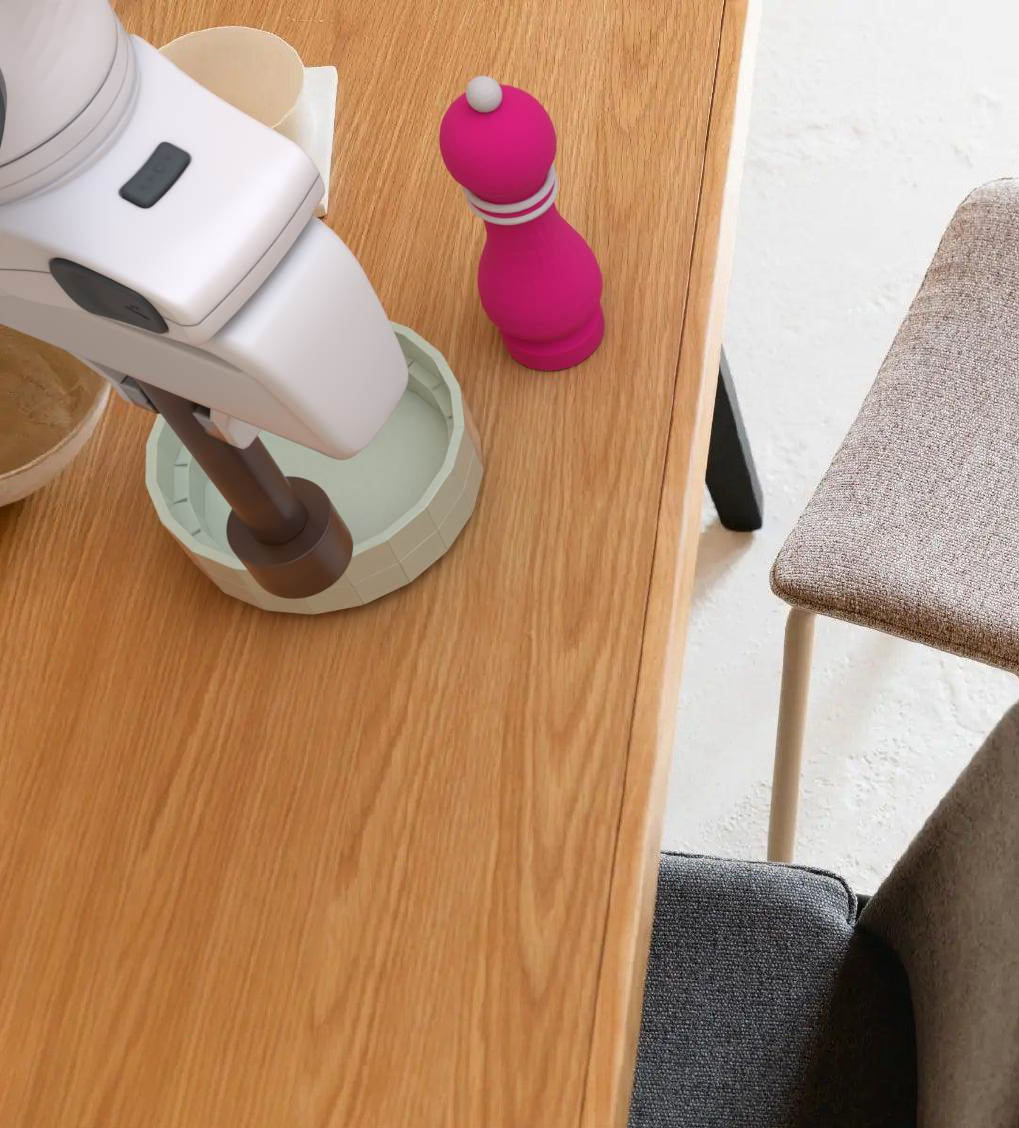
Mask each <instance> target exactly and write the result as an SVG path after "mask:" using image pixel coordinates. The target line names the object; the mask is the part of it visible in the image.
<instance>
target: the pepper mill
mask: <svg viewBox="0 0 1019 1128" xmlns="http://www.w3.org/2000/svg"><path fill="white" fill-rule="evenodd" d="M438 136H439V137H438V140H439V141H438V142H439V149H440V150H439V151H440V154H441V157H442V161H443V163H444V165H445V168H446V169H447V171H448V173H449V174H450V175H451V177H452V178H453V179H454V180H455V181H456V183H458V185H461V187H462V191H463V193H464V195H465V200H466V203H467V205H468V207H469V209H470V210H471V211H472V212H473V213H474V214H475V215H476V216H477V217H478V218H480V219H481V220H482V221H483V224H484V227H485V228H484V229H485V232H486V239H485V242H484V246H483V249H482V251H481V255H480V258H479V263H478V269H477V289H478V295H479V299H480V303H481V306H482V309H483V311H484V312H485V314H486V316H487V317H488V319H489V321H491V322H492V323H493V324H494V326H496V327H497V328H498V329H499V332H500V333H499V334H500V336H501V338H502V341H503V344H504V346H505V349H506V350H507V352H508V353H509V355H510V356H511V357H512V358H513V359H514V360H515V361H517V362H518V363H519V364H521V365H523V366H525V367H527V368H530V369H533V370H538V371H548V372H549V371H551V372H554V371H555V372H556V371H559V370H564V369H569V368H571V367H574V366H576V365H578V364H580V363H582V362H584V361H585V360H587V358H589V357H590V356H591V355H593V353H595V351H596V350H597V348H598V347H599V346H600V344H601V342H602V340H603V337H604V333H605V327H606V326H605V325H606V324H605V323H606V321H605V317H604V313H603V308H602V305H601V299H602V293H603V288H604V281H603V274H602V271H601V268H600V265H599V263H598V260H597V257H596V255H595V253H594V251H593V249H592V248H591V247H590V246H589V244H588V242H587V241H586V240H585V239H584V237H583V236H582V235H581V234H580V233H579V232H578V230H576V229H575V228H574V226H573V227H572V225H571V224H570V223H568V221H567V220H565V218H564V217H562V215H561V214H560V213H559V211H558V209H557V206H556V203H555V200H556V198H557V196H558V193H559V178H558V175H557V173H556V167H555V164H554V161H555V159H556V155H557V143H558V141H557V135H556V130H555V127H554V123H553V121H552V119H551V116H550V115H549V113H548V111H547V110H546V108H545V107H544V106H543V104H542V103H540V101H538V99H537V98H536V97H534V96H533V95H532V94H531V93H529V92H527V91H525V90H523V89H521V88H518V87H515V86H512V85H508V84H502V83H501V84H500V83H499V82H498V81H496V80H495V79H494V78H492V77H490V76H487V75H477V76H475V77H473V78H472V79H471V80H470V81H469V82H468V84H467V85H466V89H465V92H463V93H462V94H461V95H459V96H457V98H456V99H455V100H453V101H452V102H451V104H450V105H449V107H448V108H447V109H446V111H445V113H444V115H443V117H442V119H441V123H440V127H439V135H438Z"/></svg>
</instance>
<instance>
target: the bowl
mask: <svg viewBox="0 0 1019 1128" xmlns="http://www.w3.org/2000/svg"><path fill="white" fill-rule="evenodd" d="M389 322H390V324H391V326H392V328H393V331H394V333H395V335H396V337H397V340H398V342H399V345H400V347H401V349H402V352H403V354H404V357H405V360H406V364H407V367H408V383H407V386H406V389H405V391H404V394H403V396H402V398H401V399H400V401H399V403H398V405H397V406H396V408H395V409H394V411H393V412H392V414H391V415H390V417H389V419H388V420H387V421H386V423H385V424H384V425H383V427H382V428H381V429H380V431H379V432H378V433H377V435H376V436H375V437H374V438H373V439H372V441H371V442H370V443H369V444H368V445H367V446H366V447H365V448H364V449H363V450H361V451H360V452H359V453H358V454H356V455H355V456H354V457H352V458H350V459H347V460H337V459H333V458H330V457H328V456H326V455H323V454H321V453H319V452H317V451H314V450H312V449H309V448H307V447H305V446H302V445H300V444H297V443H295V442H292V441H290V440H287V439H285V438H282V437H280V436H277V435H275V434H272V433H270V432H267V431H265V430H261V431H260V433H259V434H258V437H259V438H260V440H261V441H262V443H263V444H264V446H265V447H266V449H267V450H268V452H269V453H270V455H271V456H272V458H273V459H274V461H275V462H276V464H277V465H278V467H279V468H280V470H281V471H282V473H283V474H284V476H294V477H300V478H304V479H307V480H310V481H312V482H314V483H315V484H317V485H318V486H320V487H321V488H322V489H323V490H324V492H325V493H326V494H327V496H328V497H329V499H330V500H331V502H332V504H333V505H334V507H335V508H336V510H337V511H338V513H339V515H340V516H341V518H342V519H343V521H344V522H345V524H346V526H347V527H348V529H349V531H350V533H351V536H352V540H353V553H352V558H351V561H350V563H349V566H348V568H347V569H346V571H345V572H344V574H343V575H342V576H341V578H340V579H339V580H338V581H337V582H336V583H334V584H333V585H332V586H331V587H329V588H328V589H326V590H324V591H322V592H321V593H318V594H316V595H313V596H310V597H306V598H300V599H287V598H282V597H278V596H275V595H272V594H271V593H269V592H267V591H266V590H264V589H263V588H262V587H261V586H260V585H259V584H258V582H257V581H256V580H255V579H254V577H253V576H252V575H251V574H250V572H249V571H248V570H247V569H246V567H245V566H244V565H243V564H242V562H241V561H240V560H239V559H238V557H237V556H236V555H235V553H234V552H233V551H232V549H231V548H230V546H229V544H228V540H227V535H226V525H227V520H228V517H229V514H230V512H231V510H232V508H231V506H230V505H229V504H228V502H227V501H226V500H225V498H224V497H223V496H222V494H221V493H220V492H219V490H218V489H217V488H216V486H215V485H214V484H213V482H212V481H211V480H210V478H209V477H208V476H207V475H206V473H205V472H204V471H203V469H202V468H201V467H200V465H199V464H198V463H197V461H196V460H195V459H194V457H193V456H192V455H191V453H190V452H189V451H188V449H187V448H186V447H185V445H184V444H183V443H182V441H181V440H180V439H179V437H178V436H177V435H176V433H175V432H174V431H173V429H172V428H171V427H170V425H169V424H168V423H167V421H166V420H165V419H164V418H163V416H162V415H161V414H157V416H156V418H155V421H154V423H153V425H152V428H151V431H150V433H149V435H148V438H147V441H146V443H145V477H144V478H145V481H144V482H145V483H144V484H145V488H146V490H147V491H148V495H149V497H150V499H151V502H152V504H153V507H154V509H155V511H156V514H157V515H158V519H159V521H160V523H161V524H162V525H163V527H164V528H165V529H166V530H167V532H168V533H169V534H170V535H171V537H172V538H173V539H174V541H175V542H176V543H177V544H178V545H179V547H180V548H181V549H182V550H183V552H184V553H185V554H186V555H187V557H188V558H189V559H190V560H191V561H192V563H193V564H194V565H195V566H196V567H197V568H198V569H199V570H200V571H201V572H202V573H203V574H204V575H205V576H206V577H207V578H208V579H209V580H210V581H211V582H212V583H213V584H215V586H217V588H218V589H220V590H221V591H222V592H223V593H224V594H226V595H228V596H231V597H232V598H235V599H238V600H240V601H242V602H245V603H247V604H250V605H252V606H254V607H257V608H259V609H261V610H263V611H266V612H267V611H268V612H278V613H290V614H291V613H292V614H303V615H312V616H313V615H319V614H323V613H329V612H336V611H340V610H344V609H350V608H356V607H361V606H364V605H367V604H369V603H371V602H373V601H375V600H377V599H380V598H382V597H383V596H386V595H388V594H390V593H392V592H394V591H396V590H398V589H401V588H403V587H404V586H407V585H408V584H410V583H413V581H415V579H417V578H418V577H419V576H420V575H421V574H423V573H424V572H425V571H426V570H427V569H429V567H431V566H433V564H434V563H436V561H438V560H439V559H440V558H442V557H443V556H444V555H445V554H446V553H447V552H448V551H449V550H450V548H451V547H452V545H453V544H454V543H455V541H456V540H457V538H458V536H459V535H460V533H461V531H462V530H463V529H464V527H465V525H466V524H467V523H468V521H469V519H470V518H471V516H472V515H473V512H474V511H475V507H476V503H477V498H478V494H479V491H480V488H481V483H482V479H483V477H484V471H485V470H484V462H483V453H482V443H481V435H480V432H479V429H478V427H477V424H476V422H475V420H474V417H473V415H472V413H471V410H470V407H469V404H468V402H467V400H466V398H465V394H464V393H463V389H462V388H461V385H460V383H459V382H458V380H457V378H456V376H455V374H454V373H453V371H452V369H451V367H450V366H449V363H448V362H447V360H446V358H445V357H444V355H443V354H442V352H441V351H440V350H438V349H437V348H436V347H434V346H433V345H432V344H431V343H429V341H428V340H426V339H425V338H423V337H422V336H421V335H420V334H419V333H417V332H416V331H415V330H413V329H412V328H410V327H408V326H406V325H403V324H402V323H401V324H400V323H398V322H395V321H392V320H390V319H389Z"/></svg>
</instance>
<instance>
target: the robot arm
mask: <svg viewBox="0 0 1019 1128" xmlns="http://www.w3.org/2000/svg"><path fill="white" fill-rule="evenodd" d="M325 193H326V187H325V183H324V180H323V176H322V174H321V173H320V170H319V169H318V167H317V165H316V163H315V162H314V159H312V157H311V156H310V155H309V154H308V152H307V151H306V150H305V149H303V148H302V146H300V145H299V144H297V143H296V142H294V141H293V140H291V139H290V138H288V137H286V136H285V135H284V134H282V133H279V132H278V131H276V130H274V129H273V128H271V127H269V126H267V125H265V124H264V123H262V122H260V121H258V120H257V119H255V118H253V117H252V116H250V115H249V114H247V113H246V112H243V111H242V110H241V109H238V108H236V107H235V106H234V105H232V104H230V103H229V102H227V101H225V100H224V99H222V98H221V97H219V96H218V95H216V94H215V93H213V92H212V91H211V90H209V89H208V88H206V87H205V86H203V85H202V84H200V83H199V82H197V81H196V80H195V79H193V78H192V77H191V76H190V75H188V74H187V73H186V72H184V71H183V70H181V69H180V67H178V66H177V65H176V64H174V62H172V61H171V60H170V59H169V58H168V57H166V55H164V54H163V53H162V52H161V51H160V50H159V49H157V48H156V47H155V46H154V45H152V43H150V42H148V41H147V40H145V39H144V38H142V37H141V36H139V35H137V34H136V33H135V34H134V33H129V34H128V32H127V30H126V29H125V27H124V25H123V23H122V21H121V20H120V18H119V16H118V15H117V13H116V11H115V10H114V7H113V6H112V4H111V3H110V1H109V0H0V325H2V326H5V327H7V328H10V329H13V330H15V331H17V332H19V333H23V334H25V335H27V336H30V337H32V338H35V339H37V340H40V341H43V342H44V343H47V344H50V345H52V346H55V347H57V348H59V349H62V350H65V352H67V353H69V354H70V355H72V356H73V357H75V358H76V359H77V360H79V361H80V363H82V364H84V365H85V366H87V367H88V368H89V369H91V370H92V371H93V372H95V373H96V374H97V375H99V376H100V377H102V378H103V379H105V380H107V382H108V384H110V386H111V387H112V388H113V389H114V390H115V392H116V393H117V395H118V396H119V397H120V399H122V401H123V402H126V403H128V404H130V405H133V406H135V407H137V408H140V409H143V410H145V411H147V412H151V413H153V414H157V415H158V414H160V412H159V411H158V410H157V408H156V407H155V406H154V404H153V403H152V402H151V400H150V399H149V398H148V396H147V395H146V394H145V392H144V391H143V390H142V388H141V387H140V386H139V384H138V383H137V382H136V380H135V379H134V378H136V379H139V380H141V381H144V382H146V383H149V384H151V385H153V386H156V387H158V388H161V389H163V390H166V391H168V392H171V393H173V394H176V395H178V396H181V397H183V398H186V399H188V400H191V401H193V402H195V403H198V404H199V405H198V406H197V408H196V409H195V410H194V412H193V413H192V414H193V415H194V417H195V418H196V419H197V421H198V422H199V424H201V425H202V426H203V427H204V428H205V430H204V431H205V432H206V433H207V434H208V435H210V436H212V437H215V438H217V439H219V440H222V441H224V442H226V443H229V444H231V445H233V446H235V447H238V448H241V449H245V448H247V447H249V446H250V444H251V443H252V442H253V440H254V439H255V438H256V436H257V435H258V434H259V433H260V431H261V430H265V431H267V432H270V433H272V434H275V435H277V436H280V437H282V438H285V439H287V440H290V441H292V442H295V443H297V444H300V445H302V446H305V447H307V448H309V449H312V450H314V451H317V452H319V453H321V454H323V455H326V456H328V457H330V458H333V459H337V460H347V459H350V458H352V457H354V456H355V455H356V454H358V453H359V452H360V451H361V450H363V449H364V448H365V447H366V446H367V445H368V444H369V443H370V442H371V441H372V439H373V438H374V437H375V436H376V435H377V433H378V432H379V431H380V429H381V428H382V427H383V425H384V424H385V423H386V421H387V420H388V419H389V417H390V415H391V414H392V412H393V411H394V409H395V408H396V406H397V405H398V403H399V401H400V399H401V398H402V396H403V394H404V391H405V389H406V386H407V383H408V367H407V364H406V360H405V357H404V354H403V352H402V349H401V347H400V345H399V342H398V340H397V337H396V335H395V333H394V331H393V328H392V326H391V324H390V322H389V320H390V319H389V317H388V315H387V313H386V311H385V310H384V307H383V305H382V303H381V301H380V299H379V297H378V295H377V293H376V291H375V289H374V288H373V285H372V283H371V282H370V280H369V277H368V276H367V274H366V273H365V270H364V268H363V267H362V266H361V264H360V262H359V261H358V259H357V258H356V256H355V254H354V253H353V252H352V251H351V250H350V248H349V247H348V245H347V244H346V243H345V242H344V241H343V240H342V238H341V237H340V236H339V235H338V234H337V233H336V232H335V231H334V230H333V229H332V228H331V227H330V226H328V225H327V224H326V223H325V222H324V221H322V220H321V219H320V218H319V217H317V216H316V215H314V213H315V211H316V209H317V208H318V207H319V204H320V203H321V201H322V199H323V198H324V196H325ZM133 377H134V378H133Z"/></svg>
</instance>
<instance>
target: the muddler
mask: <svg viewBox="0 0 1019 1128" xmlns="http://www.w3.org/2000/svg"><path fill="white" fill-rule="evenodd" d="M133 378H134V377H133ZM134 379H135V380H136V382H137V383H138V384H139V386H140V387H141V388H142V390H143V391H144V392H145V394H146V395H147V396H148V398H149V399H150V400H151V402H152V403H153V404H154V406H155V407H156V408H157V410H158V411H159V412H160V414H161V415H162V416H163V418H164V419H165V420H166V421H167V423H168V424H169V425H170V427H171V428H172V429H173V431H174V432H175V433H176V435H177V436H178V437H179V439H180V440H181V441H182V443H183V444H184V445H185V447H186V448H187V449H188V451H189V452H190V453H191V455H192V456H193V457H194V459H195V460H196V461H197V463H198V464H199V465H200V467H201V468H202V469H203V471H204V472H205V473H206V475H207V476H208V477H209V478H210V480H211V481H212V482H213V484H214V485H215V486H216V488H217V489H218V490H219V492H220V493H221V494H222V496H223V497H224V498H225V500H226V501H227V502H228V504H229V505H230V506H231V508H232V510H231V512H230V514H229V517H228V520H227V525H226V535H227V540H228V544H229V546H230V548H231V549H232V551H233V552H234V553H235V555H236V556H237V557H238V559H239V560H240V561H241V562H242V564H243V565H244V566H245V567H246V569H247V570H248V571H249V572H250V574H251V575H252V576H253V577H254V579H255V580H256V581H257V582H258V584H259V585H260V586H261V587H262V588H263V589H264V590H266V591H267V592H269V593H271V594H272V595H275V596H278V597H282V598H287V599H300V598H306V597H310V596H313V595H316V594H318V593H321V592H322V591H324V590H326V589H328V588H329V587H331V586H332V585H333V584H334V583H336V582H337V581H338V580H339V579H340V578H341V576H342V575H343V574H344V572H345V571H346V569H347V568H348V566H349V563H350V561H351V558H352V553H353V540H352V536H351V533H350V531H349V529H348V527H347V526H346V524H345V522H344V521H343V519H342V518H341V516H340V515H339V513H338V511H337V510H336V508H335V507H334V505H333V504H332V502H331V500H330V499H329V497H328V496H327V494H326V493H325V492H324V490H323V489H322V488H321V487H320V486H318V485H317V484H315V483H314V482H312V481H310V480H307V479H304V478H300V477H294V476H284V474H283V473H282V471H281V470H280V468H279V467H278V465H277V464H276V462H275V461H274V459H273V458H272V456H271V455H270V453H269V452H268V450H267V449H266V447H265V446H264V444H263V443H262V441H261V440H260V438H259V437H258V435H257V436H256V438H255V439H254V440H253V442H252V443H251V444H250V446H249V447H247V448H245V449H241V448H238V447H235V446H233V445H231V444H229V443H226V442H224V441H222V440H219V439H217V438H215V437H212V436H210V435H208V434H207V433H206V432H205V431H204V430H205V428H204V427H203V426H202V425H201V424H199V422H198V421H197V419H196V418H195V417H194V415H193V414H192V413H193V412H194V410H195V409H196V408H197V406H198V405H199V404H198V403H195V402H193V401H191V400H188V399H186V398H183V397H181V396H178V395H176V394H173V393H171V392H168V391H166V390H163V389H161V388H158V387H156V386H153V385H151V384H149V383H146V382H144V381H141V380H139V379H136V378H134Z"/></svg>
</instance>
